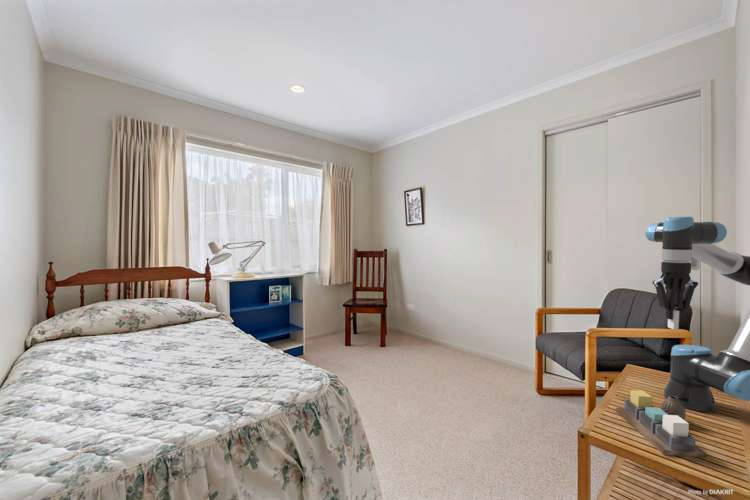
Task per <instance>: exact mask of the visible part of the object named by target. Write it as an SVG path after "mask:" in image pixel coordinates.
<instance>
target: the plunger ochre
mask: <svg viewBox="0 0 750 500" xmlns="http://www.w3.org/2000/svg"><path fill="white" fill-rule="evenodd" d="M629 399H630V402H631V403H633V404H634V405H635V406H636V407H638V408H645V407H651V405H652V403H653V402H652V401H653V400H652V399H653V396H652V395H650V394H648V393H647V392H646V391H644V390H640V389H639V390H635V389H634V390H633V389H631V390H630V397H629Z"/></svg>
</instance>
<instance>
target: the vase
mask: <svg viewBox="0 0 750 500" xmlns="http://www.w3.org/2000/svg"><path fill="white" fill-rule="evenodd" d="M659 408H660V409H661V410H663V411H664V412H665V413H667V414H668V415H678V416H679V417H680V418H682V419H683V420H685V419H686V416H687V414H686V412H687V411H686V408H684V406H683V405H682V404H681V403H680V401H679V400H678V398H677V397H674V396H669V397H668V398H667V399H666V398H664V400H663V401H662V402H661V404H660V407H659Z"/></svg>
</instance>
